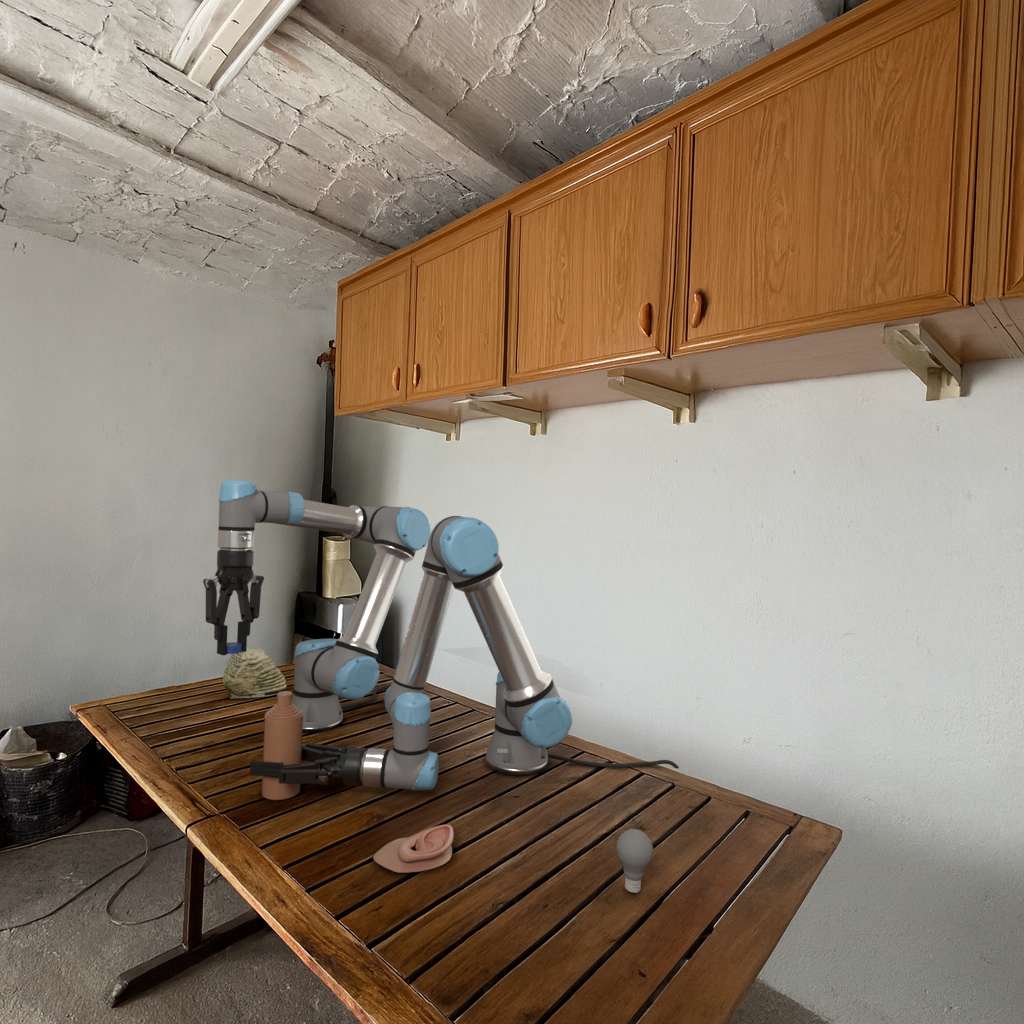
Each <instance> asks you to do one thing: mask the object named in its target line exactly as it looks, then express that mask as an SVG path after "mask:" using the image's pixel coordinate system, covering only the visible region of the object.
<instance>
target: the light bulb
mask: <svg viewBox="0 0 1024 1024" xmlns="http://www.w3.org/2000/svg"><path fill="white" fill-rule="evenodd" d="M615 849H616V854H617V857H618V859H619V861H620V863H621V865H622V867H623V873H624V874H623V875H624V876H625V878H624V888H625V890H627V891H628V892H630V893H634V894H635V893H639V892H640V891H641V889H642V887H641V886H642V879H643V877H644V875H645V871H646V868H647V867H648V866H649V864H650V863H651V861H652V859H653V855H654V847H653V843H652V841H651V838H649V836H648V835H647V834H646V833H645V832H643V831H642V830H641V829H636V828H629V829H627V830H625V831H623V832H622V833H621V834H620V835H619V837H618V839H617V841H616V847H615Z"/></svg>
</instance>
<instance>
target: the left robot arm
mask: <svg viewBox="0 0 1024 1024" xmlns="http://www.w3.org/2000/svg"><path fill="white" fill-rule="evenodd" d="M261 523H262V524H274V525H280V526H281V525H282V526H288V527H294V528H295V527H297V528H304V529H311V530H315V531H322V532H331V533H338V534H342V535H344V536H345V537H346V538H347V539H355V540H359V541H363V542H366V543H370V544H373V547H374V550H375V553H376V554H375V556H374V559H373V562H372V564H371V567H370V569H369V572H368V575H367V577H366V579H365V581H364V585H363V587H362V590H361V593H360V594H359V598H358V601H357V602H356V606H355V608H354V611H353V613H352V616H351V618H350V620H349V624H348V626H347V627H346V631H345V634H344V635H342V636H341V637H339V638H318V639H308V640H304V641H300V642H299V643H297V645H296V646H295V650H294V655H293V657H294V672H293V673H294V674H293V695H292V703H293V704H294V705H296V706H297V707H298V708H300V709H301V710H302V712H303V733H316V732H325V731H329V730H332V729H335V728H337V727H339V726H340V725H342V723H343V722H344V714H343V710H344V709H349V708H354V707H358V706H361V705H365V704H369V703H371V702H373V701H374V700H375V699H376V694H377V693H378V692H380V691H382V690H386V689H388V688H389V687H390V686H391V685H392V683H391V684H387V685H383V686H380V687H378V688H376V689H375V687H376V686H377V684H378V681H379V679H380V673H381V670H380V665H379V664H378V663H379V662H377V659H378V656H379V651H378V649H377V646H376V645H377V642H378V639H379V636H380V634H381V631H382V628H383V626H384V624H385V620H386V618H387V615H388V612H389V610H390V607H391V604H392V601H393V599H394V596H395V594H396V591H397V588H398V585H399V582H400V580H401V577H402V575H403V572H404V569H405V566H406V564H407V563H409V562H412V561H413V560H414V557H415V555H416V552H417V551H420V550H422V549H423V548H425V547H427V545H428V541H429V538H430V535H431V532H432V530H431V524H430V522H429V519H428V517H427V515H426V514H425V513H424V512H423V511H422V510H420V509H418V508H414V507H410V506H404V507H403V506H389V505H374V506H373V505H372V506H371V505H370V506H369V505H367V506H366V505H356V504H352V505H349V506H348V507H347V506H342V505H337V504H330V503H326V502H320V501H314V500H309V499H304V497H303V496H302V494H300V493H298V492H293V491H281V490H278V491H277V490H258V488H257V483H256V482H255V481H247V480H231V479H230V480H227V479H226V480H224V481H222V482H221V484H220V489H219V498H218V530H217V547H218V548H219V549H218V550H217V551H216V568H217V570H216V572H215V574H214V576H211V577H210V578H203V580H202V583H203V586H204V589H205V622H206V623H207V624H211V625H213V626H214V629H213V633H214V634H213V639H214V640H215V641H216V654H217V655H220V656H227V655H228V654H227V643H228V625H227V624H226V625H225V622H226V619H227V618H226V617H227V613H228V610H229V605H230V601H231V596H233V593H234V591H235V593H236V595H237V601H238V606H239V614H240V619H241V621H237V634H236V635H237V636H236V640H237V641H236V642H237V643H241V644H242V652H246V649H247V648H248V646H247V644H248V637H250V635H251V624H253V622H254V621H255V619H259V617H260V609H261V595H262V586H263V584H264V580H265V577H264V576H263V575H259V574H256V573H255V572H254V570H253V566H254V555H255V554H254V553H255V552H254V551H253V548H254V547H255V531H256V530H255V529H256V528H255V527H256V524H261ZM249 584H250V590H249ZM218 585H220V587H219V590H218V589H217V586H218ZM218 592H219V595H218ZM370 693H372V696H371V697H370V698H368V699H365V700H361V701H357V700H360V699H363V698H364V697H365V696H368V695H369V694H370ZM339 698H341V699H344V700H348V701H349V700H350V701H357V702H353V703H348V704H344V705H341V702H340V699H339Z"/></svg>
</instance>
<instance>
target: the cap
mask: <svg viewBox="0 0 1024 1024" xmlns="http://www.w3.org/2000/svg"><path fill="white" fill-rule="evenodd" d="M241 651H242V644H241V643H237V641H236V642H234V641H233V642H227V654H226V655H232V654H236V653H240V652H241Z"/></svg>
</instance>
